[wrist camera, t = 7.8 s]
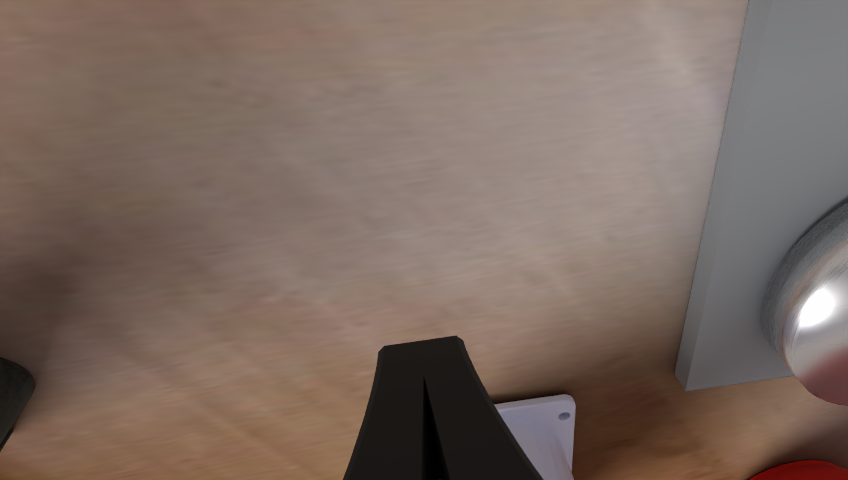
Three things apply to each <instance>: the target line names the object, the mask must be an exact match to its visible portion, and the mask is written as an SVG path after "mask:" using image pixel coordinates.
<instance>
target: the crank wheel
mask: <svg viewBox="0 0 848 480" xmlns="http://www.w3.org/2000/svg"><path fill="white" fill-rule="evenodd" d="M760 318H761V328H762V332H763V335H764V338H765V339H766V341H767V343H768V345H769V346H770V347H771V348H772V349H773V351H774V352H775V353H776V354H777V355H778V356H779V358H780V359H781V360H782V361H783V362H784V363H785V365H786V366H787V367H788V368H789V369H790V370H791V372H792V373H793V374H794V375H795V376H796V377H797V379H798V380H799V381H800V382H801V383H802V384H803V385H804V387H805V388H806V389H807V390H808V391H809V392H811V393H812V394H813V395H815V396H816V397H818V398H820V399H823V400H825V401H827V402H831V403H835V404H839V405H846V406H848V202H847V203H846V204H844V205H843V206H841V207H840V208H838V209H837V210H835V211H834V212H832V213H831V214H829V215H828V216H827V217H826V218H824V219H823V220H822V221H821V222H819V223H818V224H817V225H816V226H814V227H813V228H812V229H811V230H810V231H809V232H808V233H807V234H806V235H805V236H804V237H803V238H802V239H800V240H799V242H798V243H797V244H796V245H795V246H794V247H793V248H792V249H791V251H790V252H789V253H788V254H787V255H786V257H785V258H784V260H783V261H782V262H781V264H780V265H779V266H778V268H777V270H776V271H775V273H774V275H773V277H772V278H771V280H770V282H769V285H768V287H767V289H766V292H765V294H764V298H763V302H762V306H761V316H760Z"/></svg>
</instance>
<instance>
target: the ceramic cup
mask: <svg viewBox="0 0 848 480" xmlns="http://www.w3.org/2000/svg"><path fill="white" fill-rule="evenodd" d="M749 480H848V469H845V468H840V467H838V466H837V465H835V464H832V463H830V462H826V461H820V460H806V461H797V462H792V463H788V464H783V465H780V466H777V467H774V468H771V469H769V470H767V471H764V472H762V473H760V474H758V475H756V476H754V477H753V478H751V479H749Z"/></svg>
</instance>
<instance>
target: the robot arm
mask: <svg viewBox="0 0 848 480" xmlns="http://www.w3.org/2000/svg"><path fill="white" fill-rule="evenodd" d="M575 411H576V405H575V402H574V399H573V397H571V396H570V395H566V394H562V395H555V396H548V397H541V398H535V399H528V400H521V401H514V402H507V403H500V404H493V402H492V400H491V399H490V397H489V395H488V393H487V391H486V390H485V388H484V386H483V384H482V382H481V380H480V378H479V377H478V375H477V373H476V371H475V369H474V366H473V364H472V362H471V360H470V358H469V355H468V353H467V350H466V348H465V345H464V342H463V340H462V339H460V338H459V337H457V336H451V337H444V338H437V339H430V340H423V341H416V342H409V343H402V344H395V345H388V346H384V347H383V348H382V349H381V350H380V351H379V352H378V360H377V367H376V372H375V377H374V382H373V386H372V390H371V394H370V398H369V402H368V405H367V409H366V412H365V416H364V419H363V422H362V426H361V429H360V432H359V435H358V438H357V441H356V444H355V447H354V450H353V453H352V456H351V459H350V462H349V465H348V468H347V470H346V473H345V475H344V478H343V480H574V478H573V475H572V458H573V442H574V426H575Z"/></svg>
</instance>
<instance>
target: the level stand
mask: <svg viewBox="0 0 848 480" xmlns="http://www.w3.org/2000/svg"><path fill="white" fill-rule="evenodd" d="M847 202H848V0H749V5H748V10H747V15H746V20H745V25H744V30H743V35H742V40H741V45H740V49H739V54H738V59H737V64H736V69H735V74H734V79H733V84H732V89H731V94H730V99H729V104H728V109H727V114H726V119H725V124H724V129H723V134H722V139H721V144H720V149H719V154H718V159H717V164H716V169H715V174H714V179H713V184H712V189H711V194H710V199H709V204H708V209H707V214H706V219H705V224H704V229H703V234H702V239H701V244H700V249H699V254H698V259H697V264H696V269H695V274H694V278H693V283H692V288H691V293H690V298H689V303H688V308H687V313H686V318H685V323H684V328H683V333H682V338H681V343H680V348H679V353H678V358H677V363H676V368H675V373H674V374H675V375H676V377H677V379H678V380H679V382H680V384H681V385H682V387H683V388H684V390H685V391H692V390H699V389H705V388H712V387H719V386H726V385H733V384H740V383H747V382H754V381H760V380H767V379H774V378H781V377H788V376H795V375H794V374H793V373H792V372H791V370H790V369H789V368H788V367H787V366H786V365H785V363H784V362H783V361H782V360H781V359H780V358H779V356H778V355H777V354H776V353H775V352H774V351H773V349H772V348H771V347H770V346H769V345H768V343H767V341H766V339H765V338H764V335H763V332H762V328H761V318H760V316H761V306H762V302H763V298H764V294H765V292H766V289H767V287H768V285H769V282H770V280H771V278H772V277H773V275H774V273H775V271H776V270H777V268H778V266H779V265H780V264H781V262H782V261H783V260H784V258H785V257H786V255H787V254H788V253H789V252H790V251H791V249H792V248H793V247H794V246H795V245H796V244H797V243H798V242H799V240H800V239H802V238H803V237H804V236H805V235H806V234H807V233H808V232H809V231H810V230H811V229H812V228H813V227H814V226H816V225H817V224H818V223H819V222H821V221H822V220H823V219H824V218H826V217H827V216H828V215H829V214H831V213H832V212H834V211H835V210H837V209H838V208H840V207H841V206H843V205H844V204H846V203H847Z"/></svg>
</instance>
